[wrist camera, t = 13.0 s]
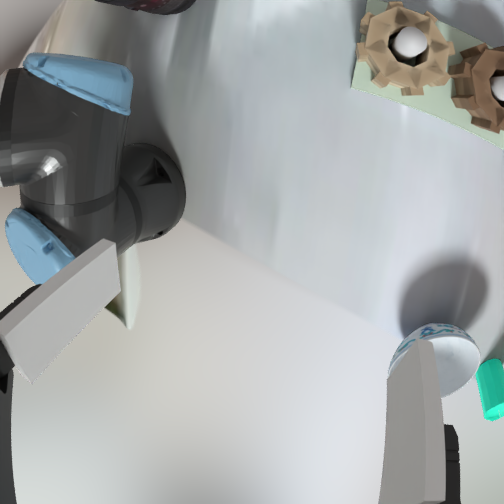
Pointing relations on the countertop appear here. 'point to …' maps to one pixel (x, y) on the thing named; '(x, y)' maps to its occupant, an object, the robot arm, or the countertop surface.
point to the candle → (491, 388)
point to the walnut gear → (479, 86)
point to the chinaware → (445, 354)
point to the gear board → (435, 97)
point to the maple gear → (384, 63)
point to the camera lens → (153, 5)
